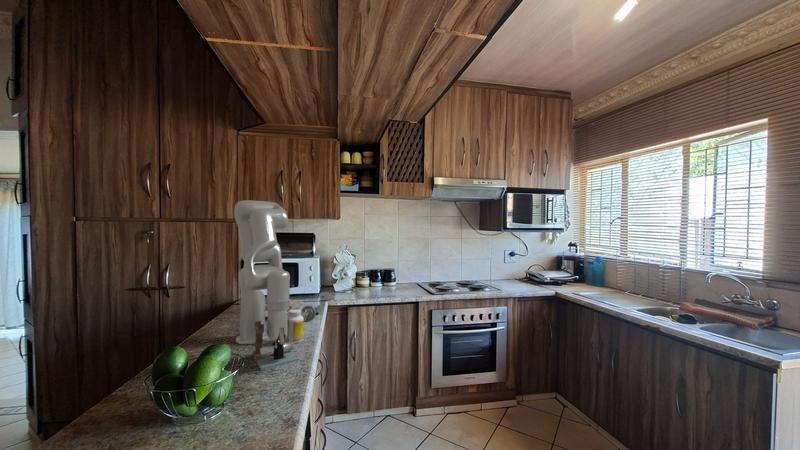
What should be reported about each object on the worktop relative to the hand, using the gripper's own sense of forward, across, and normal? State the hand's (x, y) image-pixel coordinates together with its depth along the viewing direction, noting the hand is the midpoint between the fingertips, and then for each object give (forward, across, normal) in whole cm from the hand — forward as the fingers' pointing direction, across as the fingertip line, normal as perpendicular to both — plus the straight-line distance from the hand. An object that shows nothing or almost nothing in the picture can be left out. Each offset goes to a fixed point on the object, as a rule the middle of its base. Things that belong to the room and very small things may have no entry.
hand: (277, 356), depth 102 cm
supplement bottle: (+2, -15, +11) cm, 19 cm away
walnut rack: (+2, -8, 0) cm, 8 cm away
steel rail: (-1, 0, 0) cm, 1 cm away
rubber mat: (+2, 0, 0) cm, 2 cm away
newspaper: (+3, -65, +19) cm, 68 cm away
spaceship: (+2, -38, +25) cm, 45 cm away
